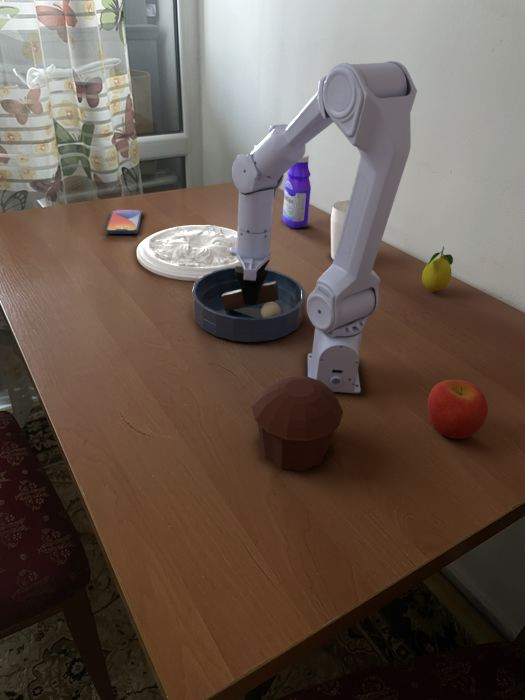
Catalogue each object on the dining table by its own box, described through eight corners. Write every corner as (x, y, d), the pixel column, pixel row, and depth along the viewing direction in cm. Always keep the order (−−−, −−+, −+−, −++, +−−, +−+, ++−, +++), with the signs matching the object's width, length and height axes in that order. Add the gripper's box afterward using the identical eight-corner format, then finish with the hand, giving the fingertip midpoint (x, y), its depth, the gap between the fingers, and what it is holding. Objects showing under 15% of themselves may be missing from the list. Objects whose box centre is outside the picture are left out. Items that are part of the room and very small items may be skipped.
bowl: (302, 349, 93) (304, 323, 90) (183, 340, 93) (182, 314, 90) (302, 293, 109) (304, 270, 107) (202, 286, 110) (201, 263, 107)
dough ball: (280, 309, 96) (268, 295, 97) (266, 323, 96) (254, 309, 97) (286, 313, 99) (274, 299, 100) (272, 326, 100) (261, 312, 101)
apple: (454, 457, 73) (470, 412, 68) (409, 424, 78) (421, 380, 74) (489, 436, 77) (505, 392, 72) (444, 405, 82) (457, 363, 78)
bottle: (278, 220, 143) (283, 151, 133) (297, 218, 145) (303, 150, 135) (291, 230, 137) (297, 159, 128) (310, 228, 139) (318, 158, 130)
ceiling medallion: (220, 222, 140) (221, 210, 138) (287, 263, 121) (288, 250, 119) (116, 242, 126) (115, 229, 124) (173, 292, 107) (172, 278, 105)
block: (278, 300, 97) (275, 283, 97) (225, 311, 99) (221, 295, 98) (280, 296, 100) (276, 281, 99) (227, 308, 102) (223, 292, 101)
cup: (364, 268, 121) (373, 216, 114) (323, 263, 122) (330, 211, 115) (366, 253, 128) (374, 202, 121) (328, 248, 129) (334, 198, 123)
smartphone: (142, 213, 142) (141, 209, 141) (137, 234, 129) (137, 230, 129) (113, 213, 141) (112, 209, 141) (105, 234, 129) (105, 230, 128)
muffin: (289, 407, 80) (294, 351, 74) (352, 445, 74) (364, 386, 68) (232, 449, 72) (234, 389, 66) (298, 494, 66) (306, 432, 61)
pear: (419, 298, 110) (430, 252, 105) (413, 284, 115) (423, 240, 110) (452, 300, 110) (464, 254, 105) (444, 286, 115) (456, 242, 110)
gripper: (235, 210, 98) (233, 278, 106) (226, 242, 86) (224, 316, 94) (274, 213, 98) (269, 281, 105) (270, 245, 86) (265, 319, 93)
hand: (250, 298), depth 100 cm, fingers closed on block, 3 cm apart
